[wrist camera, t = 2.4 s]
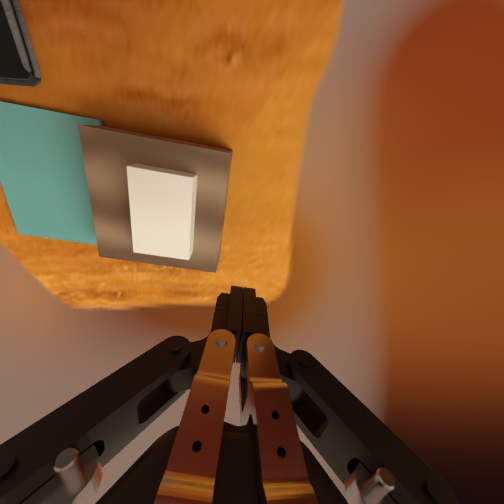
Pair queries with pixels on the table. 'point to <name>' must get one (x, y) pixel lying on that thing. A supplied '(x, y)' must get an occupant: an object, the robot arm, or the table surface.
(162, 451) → the robot arm
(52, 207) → the mat
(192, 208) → the white rectangular block
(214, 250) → the block
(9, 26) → the phone
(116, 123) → the table surface
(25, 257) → the table surface
